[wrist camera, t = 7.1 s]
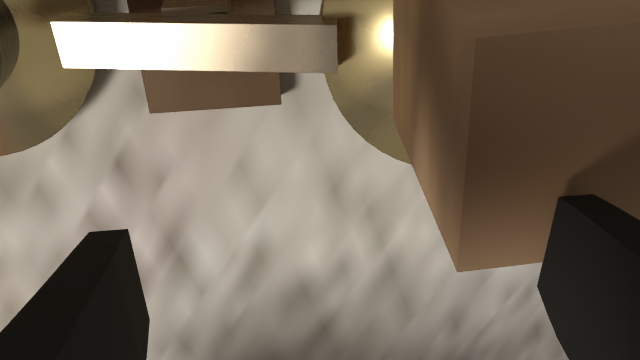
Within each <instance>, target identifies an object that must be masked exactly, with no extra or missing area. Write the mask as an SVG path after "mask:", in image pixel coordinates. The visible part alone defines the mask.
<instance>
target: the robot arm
mask: <svg viewBox="0 0 640 360" xmlns="http://www.w3.org/2000/svg"><path fill="white" fill-rule="evenodd" d="M537 287H538V290H539V292H540V295H541V298H542V301H543V303H544V306H545V309H546V311H547V314H548V316H549V319H550V321H551V324H552V326H553V328H554V331H555V333H556V336H557V338H558V340H559V342H560V344H561V346H562V347H563V349H564V351H565V353H566V355H567V357H568V358H569V360H640V220H638V219H637V218H635V217H633V216H632V215H630V214H628V213H627V212H625V211H623V210H622V209H620V208H618V207H616V206H615V205H613V204H611V203H609V202H607V201H605V200H604V199H602V198H600V197H598V196H596V195H594V194H587V195H574V196H561V197H558V200H557V205H556V209H555V213H554V217H553V221H552V226H551V230H550V234H549V238H548V243H547V247H546V251H545V255H544V259H543V264H542V268H541V272H540V276H539V281H538V285H537ZM149 322H150V319H149V315H148V311H147V307H146V302H145V298H144V294H143V290H142V286H141V282H140V277H139V273H138V269H137V265H136V261H135V257H134V252H133V248H132V244H131V240H130V236H129V232H128V229H123V230H109V231H96V232H89V233H88V234H87V235H86V236H85V238H84V239H83V240H82V241H81V242H80V243H79V244H78V245H77V246H76V248H75V249H74V250H73V251H72V252H71V253H70V254H69V256H68V257H67V258H66V259H65V260H64V261H63V263H62V264H61V265H60V266H59V267H58V268H57V270H56V271H55V272H54V273H53V274H52V275H51V277H50V278H49V279H48V280H47V281H46V282H45V283H44V285H43V286H42V287H41V288H40V289H39V290H38V292H37V293H36V294H35V295H34V296H33V297H32V298H31V299H30V300H29V301H28V303H27V304H26V305H25V306H24V307H23V308H22V309H21V310H20V311H19V313H18V314H17V315H16V316H15V317H14V318H13V319H12V320H11V321H10V322H9V324H8V325H7V326H6V327H5V328H4V329H3V330H2V331H1V332H0V360H146V357H147V346H148V334H149Z"/></svg>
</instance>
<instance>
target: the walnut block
mask: <svg viewBox="0 0 640 360" xmlns="http://www.w3.org/2000/svg"><path fill="white" fill-rule="evenodd" d="M393 121H394V124H395V126H396V128H397V131H398V133H399V135H400V138H401V140H402V142H403V145H404V147H405V150H406V152H407V154H408V157H409V159H410V161H411V164H412V166H413V169H414V171H415V173H416V176H417V178H418V180H419V183H420V185H421V187H422V190H423V192H424V195H425V197H426V199H427V202H428V204H429V206H430V209H431V211H432V213H433V216H434V218H435V221H436V223H437V225H438V228H439V230H440V232H441V235H442V237H443V240H444V242H445V244H446V247H447V249H448V251H449V254H450V256H451V258H452V261H453V263H454V266H455V268H456V270H457V272H463V271H472V270H480V269H489V268H497V267H506V266H514V265H523V264H531V263H540V262H543V259H544V255H545V251H546V247H547V243H548V238H549V234H550V230H551V226H552V221H553V217H554V213H555V209H556V205H557V200H558V197H561V196H574V195H587V194H594V195H596V196H598V197H600V198H602V199H604V200H605V201H607V202H609V203H611V204H613V205H615V206H616V207H618V208H620V209H622V210H623V211H625V212H627V213H628V214H630V215H632V216H633V217H635V218H637V219H638V220H640V0H393Z"/></svg>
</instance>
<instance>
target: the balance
mask: <svg viewBox="0 0 640 360" xmlns="http://www.w3.org/2000/svg"><path fill="white" fill-rule="evenodd" d="M127 3H128V8H129V13H95V12H94V8H93V5H92V2H91V0H0V156H2V155H8V154H12V153H16V152H20V151H23V150H26V149H28V148H31V147H33V146H36V145H38V144H40V143H42V142H43V141H45V140H47V139H49V138H50V137H52V136H53V135H54V134H56V133H57V132H58V131H60V130H61V129H62V128H63V127H64V126H65V125H66V124H67V123H68V122H69V121H70V120H71V119H72V118H73V117H74V115H75V114H76V113H77V111H78V110H79V108H80V107H81V105H82V104H83V102H84V100H85V98H86V96H87V94H88V91H89V89H90V87H91V85H92V83H93V79H94V76H95V72H96V69H141V72H142V77H143V82H144V87H145V92H146V97H147V102H148V107H149V112H150V113H164V112H179V111H193V110H208V109H222V108H237V107H251V106H266V105H280V104H281V91H280V76H279V72H293V73H325V77H326V81H327V84H328V86H329V89H330V91H331V94H332V96H333V99H334V101H335V103H336V104H337V106H338V108H339V110H340V111H341V113H342V115H343V116H344V117H345V119H346V120H347V121H348V122H349V124H350V125H351V126H352V128H353V129H354V130H355V131H356V132H357V133H358V134H359V135H361V136H362V137H363V138H364V139H365V140H366V141H367V142H368V143H370V144H371V145H373V146H374V147H376V148H377V149H378V150H380V151H381V152H383V153H385V154H387V155H389V156H391V157H393V158H395V159H397V160H400V161H403V162H406V163H409V164H411V161H410V159H409V157H408V154H407V152H406V150H405V147H404V145H403V142H402V140H401V138H400V135H399V133H398V131H397V128H396V126H395V124H394V121H393V0H322V2H321V8H320V14H319V15H275V4H274V0H127ZM411 165H412V164H411Z"/></svg>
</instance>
